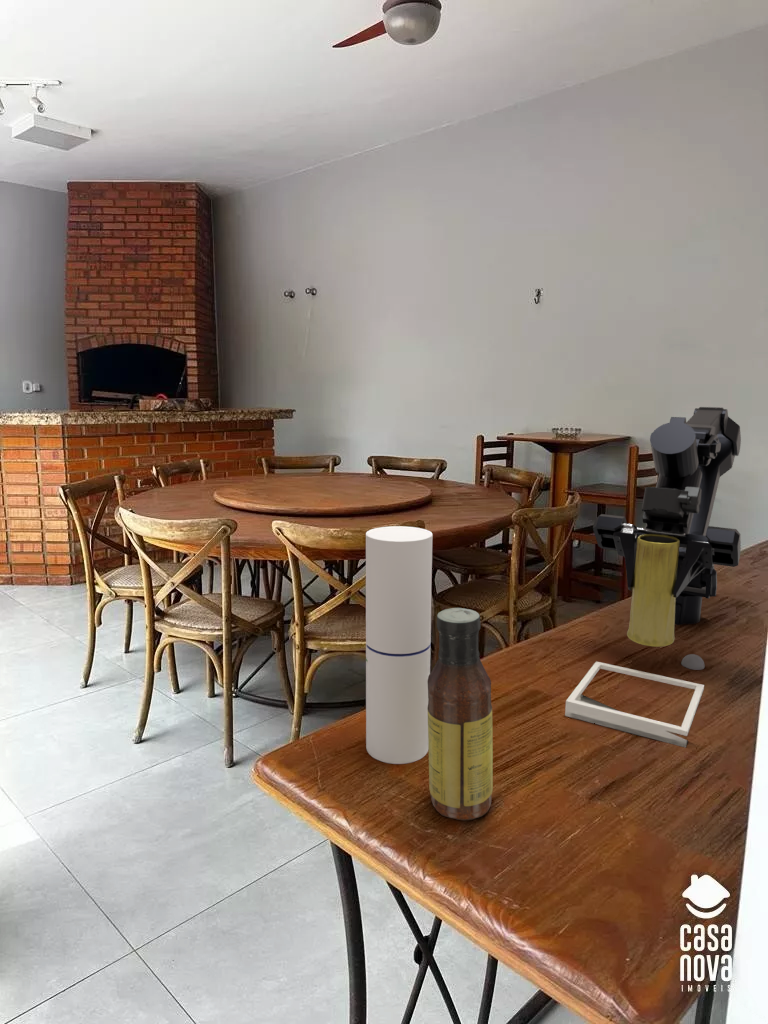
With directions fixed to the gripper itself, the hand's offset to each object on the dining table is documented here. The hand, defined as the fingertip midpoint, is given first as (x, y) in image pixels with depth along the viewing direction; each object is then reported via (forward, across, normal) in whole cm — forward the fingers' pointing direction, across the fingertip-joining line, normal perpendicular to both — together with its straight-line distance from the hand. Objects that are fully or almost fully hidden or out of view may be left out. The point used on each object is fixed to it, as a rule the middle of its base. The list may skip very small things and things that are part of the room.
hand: (651, 592), depth 92 cm
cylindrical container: (+32, -20, -14) cm, 40 cm away
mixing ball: (+4, +5, +13) cm, 14 cm away
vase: (+4, 0, +6) cm, 7 cm away
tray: (+15, +1, +3) cm, 15 cm away
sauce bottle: (+36, -9, -19) cm, 42 cm away
